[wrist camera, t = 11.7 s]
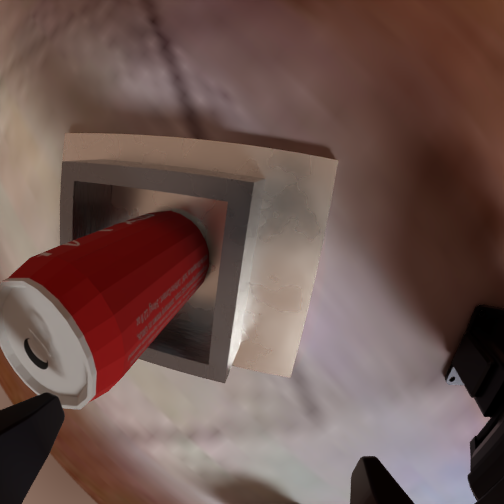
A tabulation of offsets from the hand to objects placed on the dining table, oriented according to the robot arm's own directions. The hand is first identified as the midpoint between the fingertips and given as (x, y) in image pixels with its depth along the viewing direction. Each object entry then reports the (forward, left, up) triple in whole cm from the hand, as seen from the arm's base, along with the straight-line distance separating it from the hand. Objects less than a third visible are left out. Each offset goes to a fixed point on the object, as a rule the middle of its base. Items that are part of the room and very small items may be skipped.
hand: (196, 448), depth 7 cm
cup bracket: (+6, -1, -13) cm, 15 cm away
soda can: (+6, -1, -12) cm, 14 cm away
